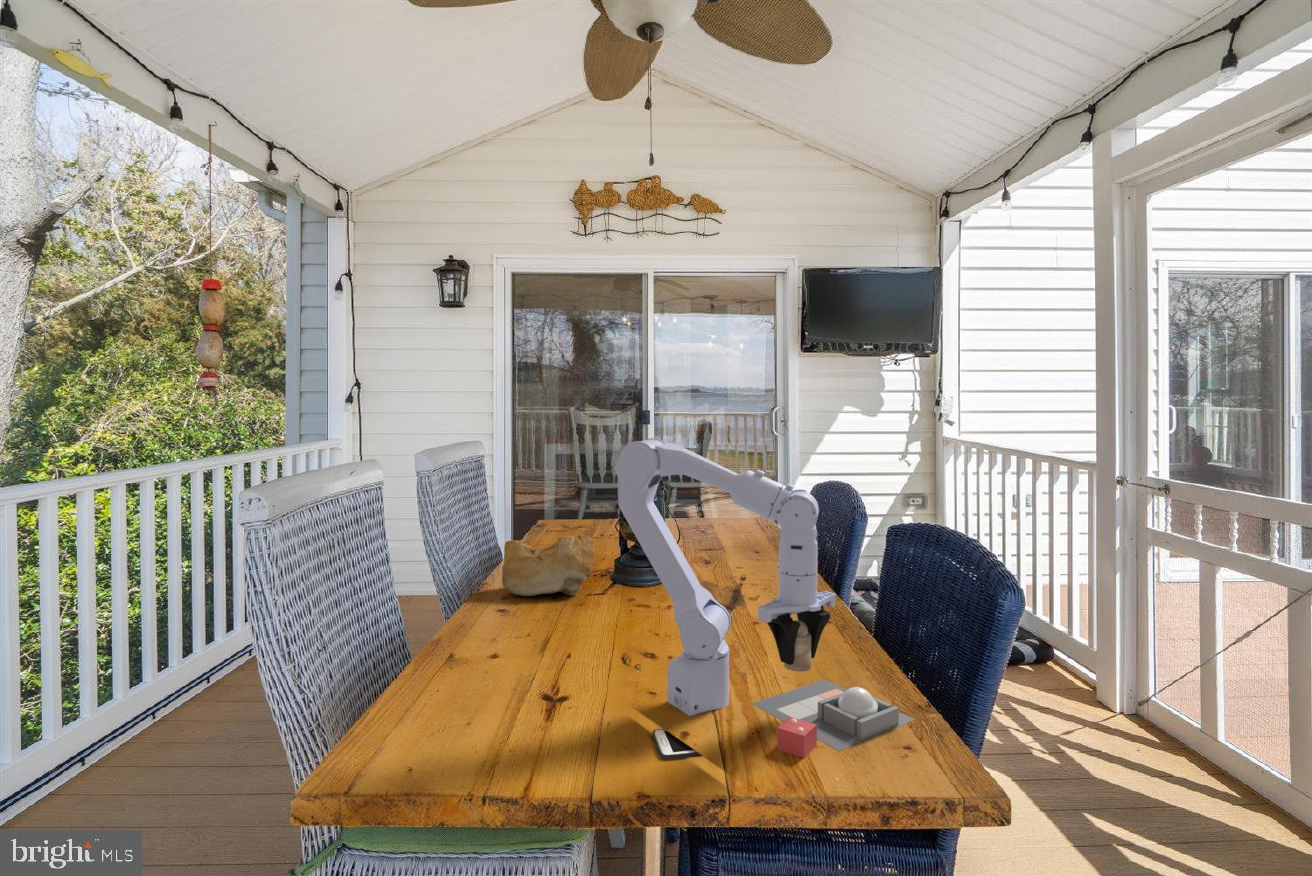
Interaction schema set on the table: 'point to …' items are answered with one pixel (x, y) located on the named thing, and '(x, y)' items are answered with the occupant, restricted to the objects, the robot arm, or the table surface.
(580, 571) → the rough brown rock
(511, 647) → the table surface
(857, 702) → the dome
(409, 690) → the table surface
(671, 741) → the cell phone
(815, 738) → the red die
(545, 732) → the table surface
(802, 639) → the pawn
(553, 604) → the table surface
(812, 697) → the game board
